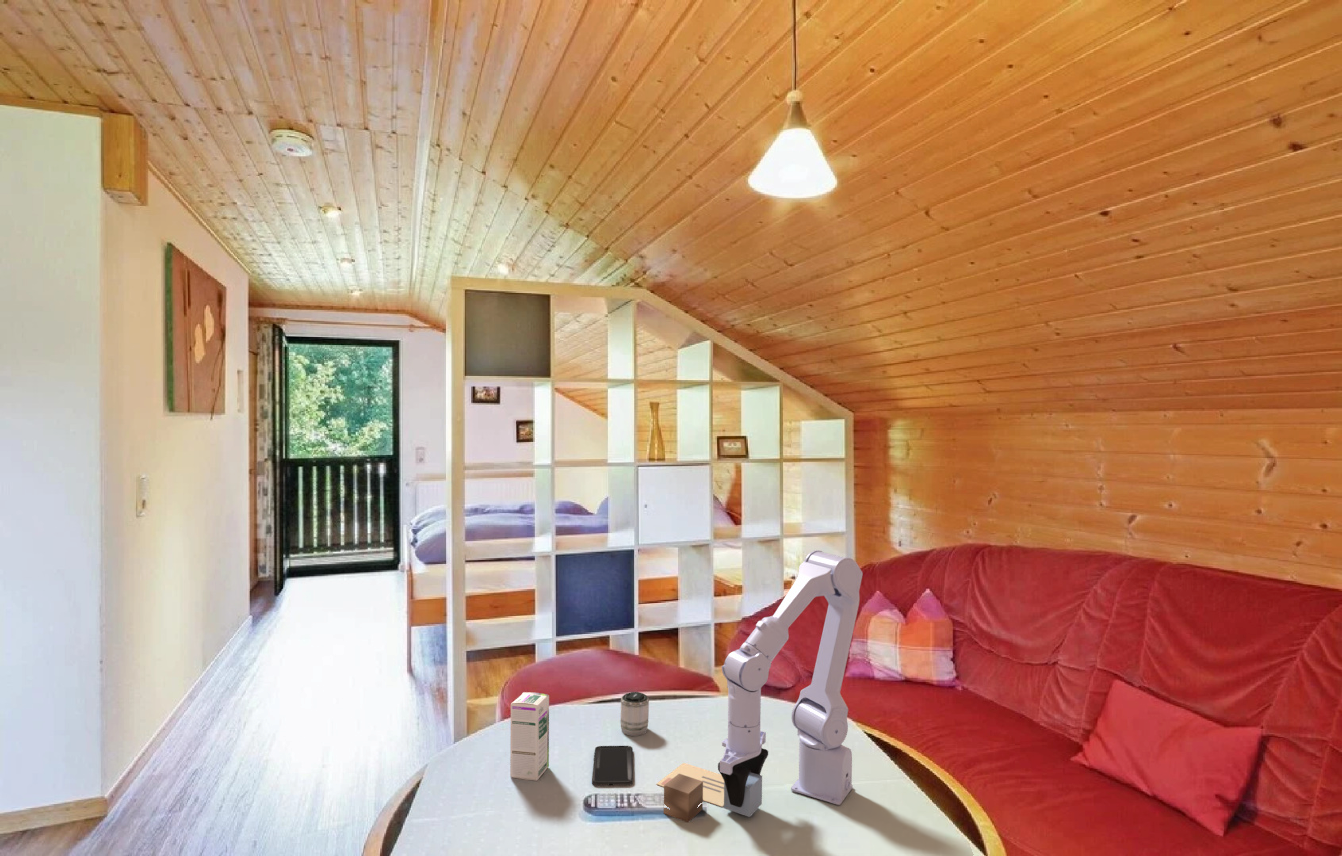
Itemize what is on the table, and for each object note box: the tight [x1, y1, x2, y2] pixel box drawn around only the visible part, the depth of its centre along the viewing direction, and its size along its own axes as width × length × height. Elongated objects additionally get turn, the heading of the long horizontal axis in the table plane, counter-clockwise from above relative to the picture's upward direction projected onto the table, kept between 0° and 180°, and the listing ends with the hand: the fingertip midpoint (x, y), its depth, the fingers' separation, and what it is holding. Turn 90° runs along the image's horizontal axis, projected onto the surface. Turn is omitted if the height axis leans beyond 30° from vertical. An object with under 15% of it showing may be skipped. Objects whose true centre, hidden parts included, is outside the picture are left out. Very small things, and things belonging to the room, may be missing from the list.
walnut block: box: [663, 774, 704, 823], centre depth 121 cm, size 5×5×5 cm
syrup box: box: [509, 691, 550, 782], centre depth 134 cm, size 6×6×14 cm
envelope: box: [655, 762, 724, 808], centre depth 130 cm, size 14×10×1 cm
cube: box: [723, 772, 763, 818], centre depth 121 cm, size 5×5×5 cm
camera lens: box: [619, 691, 650, 737], centre depth 153 cm, size 6×6×8 cm
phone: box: [591, 745, 634, 787], centre depth 136 cm, size 8×1×15 cm
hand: (743, 797), depth 121 cm, fingers closed on cube, 5 cm apart
